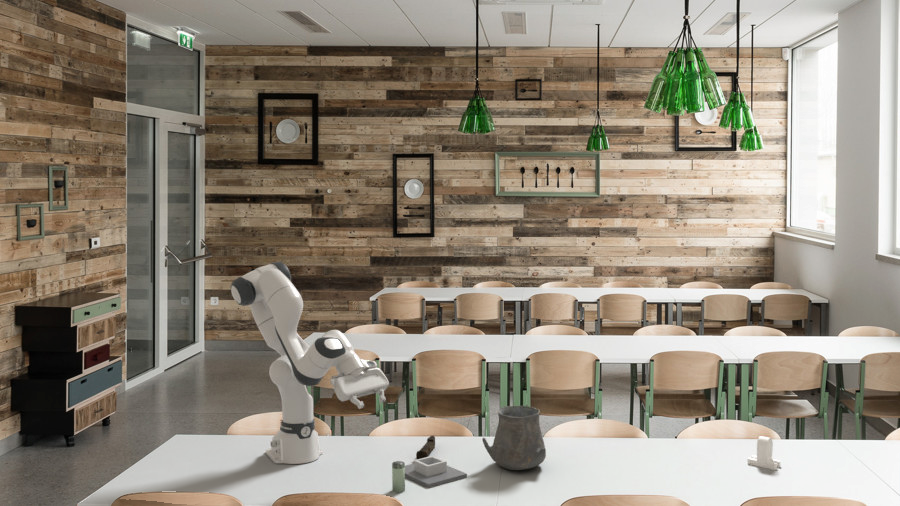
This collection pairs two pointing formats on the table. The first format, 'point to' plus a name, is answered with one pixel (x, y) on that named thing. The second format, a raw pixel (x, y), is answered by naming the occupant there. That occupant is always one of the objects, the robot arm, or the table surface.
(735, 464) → the table surface
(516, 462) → the vessel
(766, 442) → the cable organizer
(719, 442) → the table surface
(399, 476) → the green cylinder
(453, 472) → the docking plate
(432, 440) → the brown wooden log
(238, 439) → the table surface
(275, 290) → the robot arm
